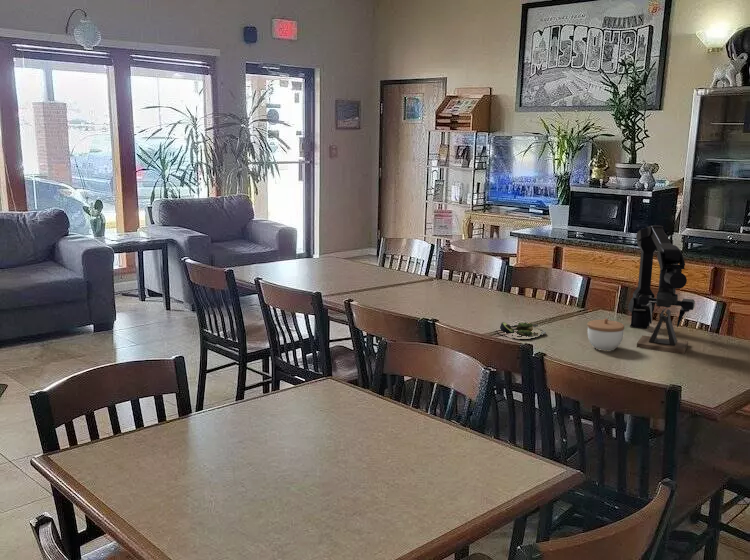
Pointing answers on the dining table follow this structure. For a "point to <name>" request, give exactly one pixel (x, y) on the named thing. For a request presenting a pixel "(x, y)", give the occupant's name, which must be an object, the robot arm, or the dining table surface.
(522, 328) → the salad plate
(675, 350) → the walnut board
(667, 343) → the gray triangular stand
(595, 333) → the lidded bowl
